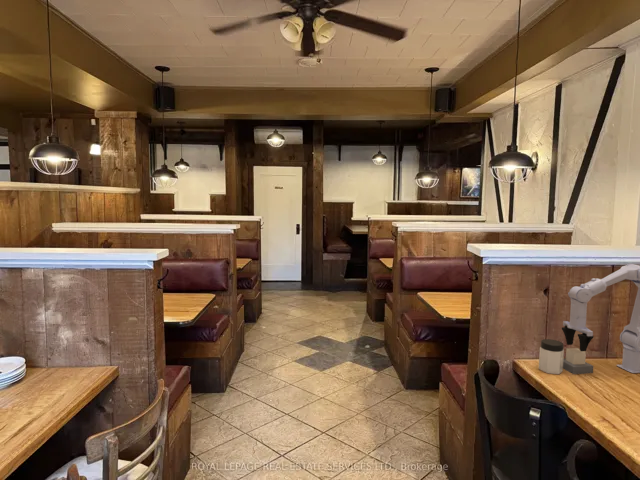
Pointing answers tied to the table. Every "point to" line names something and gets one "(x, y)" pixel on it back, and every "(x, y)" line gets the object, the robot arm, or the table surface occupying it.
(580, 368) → the charcoal base
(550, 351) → the jar
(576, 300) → the robot arm
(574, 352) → the cream cube
